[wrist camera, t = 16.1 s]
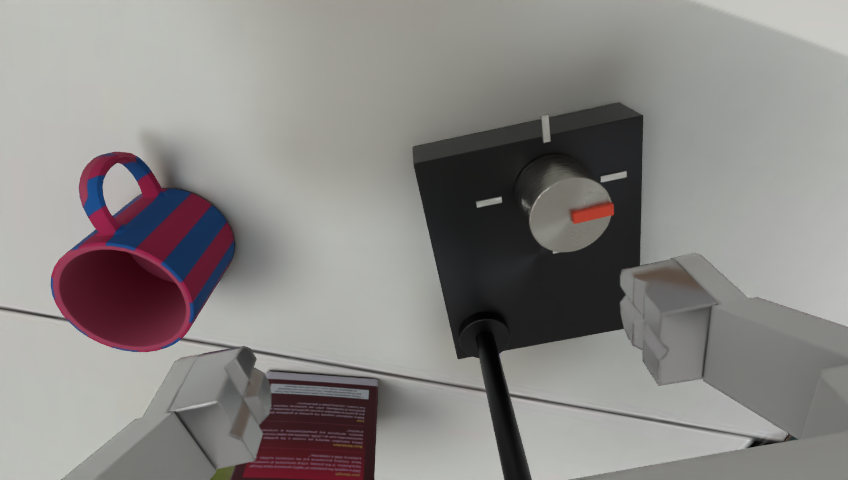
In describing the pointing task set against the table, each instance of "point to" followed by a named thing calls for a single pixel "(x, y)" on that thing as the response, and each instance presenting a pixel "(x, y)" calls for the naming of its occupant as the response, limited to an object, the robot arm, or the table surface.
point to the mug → (141, 261)
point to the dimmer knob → (562, 203)
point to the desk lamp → (496, 387)
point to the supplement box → (316, 430)
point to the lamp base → (510, 236)
